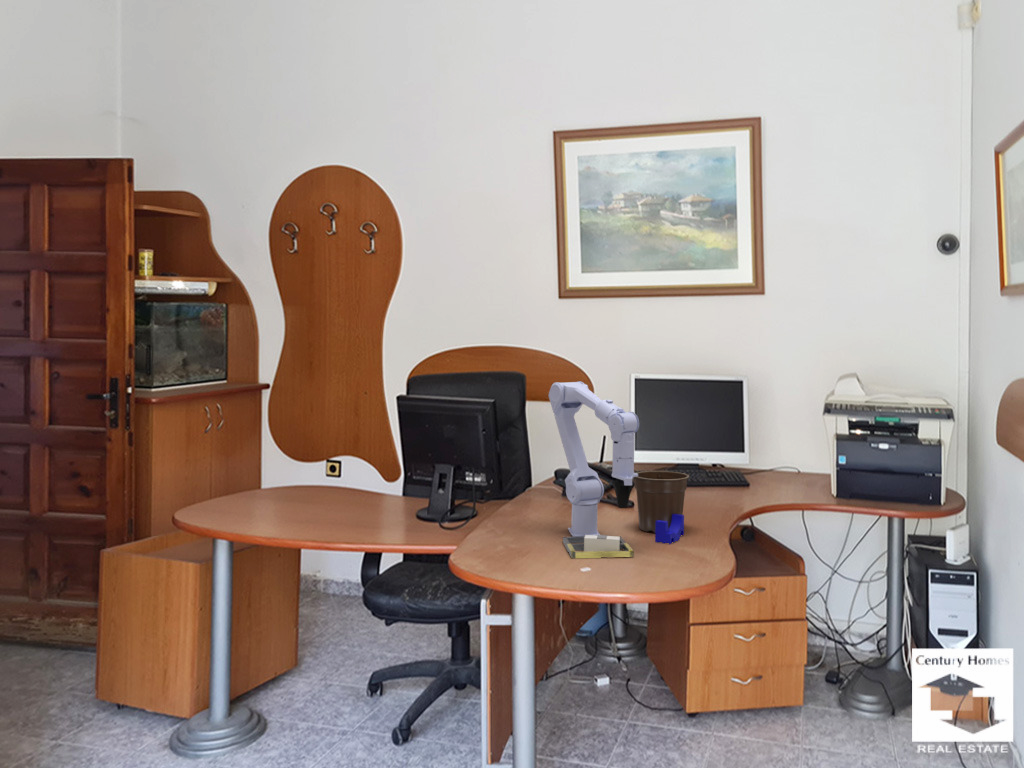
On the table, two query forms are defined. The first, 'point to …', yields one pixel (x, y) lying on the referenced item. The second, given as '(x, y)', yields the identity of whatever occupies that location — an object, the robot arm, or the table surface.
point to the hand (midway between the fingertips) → (622, 507)
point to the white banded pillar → (601, 543)
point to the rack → (595, 554)
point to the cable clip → (669, 529)
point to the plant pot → (659, 497)
